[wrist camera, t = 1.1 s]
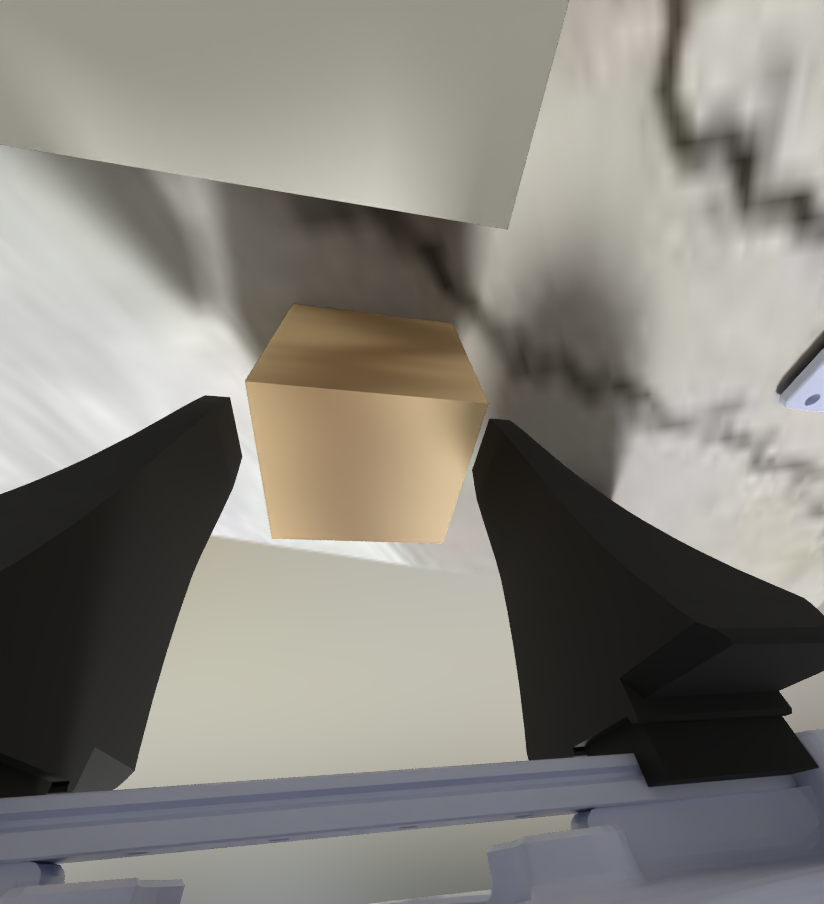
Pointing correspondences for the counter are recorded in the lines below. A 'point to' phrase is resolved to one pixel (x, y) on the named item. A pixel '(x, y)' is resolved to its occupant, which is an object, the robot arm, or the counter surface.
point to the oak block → (363, 425)
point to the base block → (290, 93)
